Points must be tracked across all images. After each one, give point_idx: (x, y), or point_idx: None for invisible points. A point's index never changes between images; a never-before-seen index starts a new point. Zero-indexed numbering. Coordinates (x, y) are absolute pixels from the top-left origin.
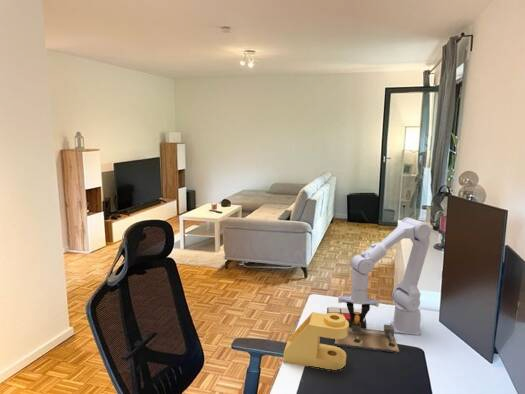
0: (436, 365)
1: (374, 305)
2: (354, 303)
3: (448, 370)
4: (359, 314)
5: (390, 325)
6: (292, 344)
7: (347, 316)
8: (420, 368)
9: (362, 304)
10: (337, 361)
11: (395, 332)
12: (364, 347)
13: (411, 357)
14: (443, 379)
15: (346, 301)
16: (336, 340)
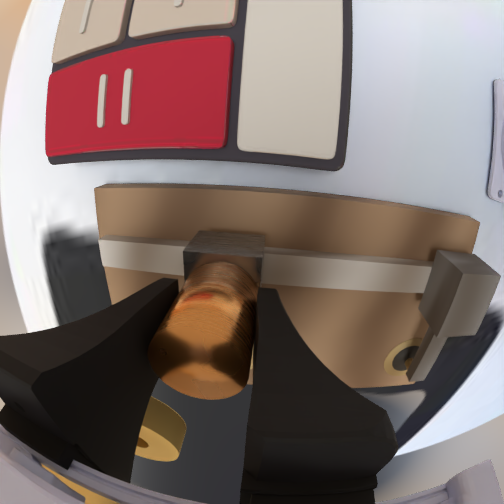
0: (473, 390)
1: (421, 497)
2: (105, 481)
3: (481, 398)
4: (224, 384)
5: (489, 281)
6: None
7: (165, 98)
8: (422, 415)
9: (240, 497)
10: (157, 460)
11: (491, 198)
12: None
13: (437, 379)
14: (442, 429)
15: (12, 444)
16: None
